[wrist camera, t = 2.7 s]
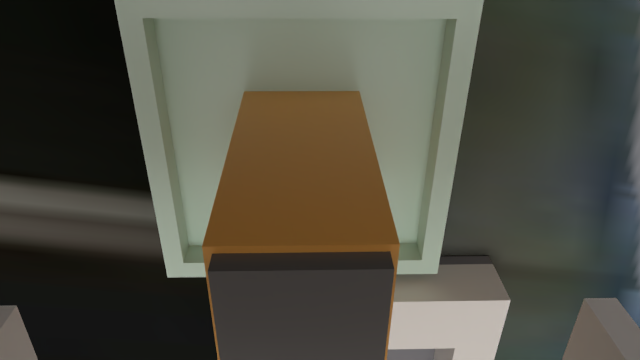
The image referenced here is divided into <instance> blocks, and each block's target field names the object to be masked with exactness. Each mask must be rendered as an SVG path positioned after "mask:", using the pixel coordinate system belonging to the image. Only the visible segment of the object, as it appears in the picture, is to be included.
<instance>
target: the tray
mask: <svg viewBox="0 0 640 360" xmlns="http://www.w3.org/2000/svg"><path fill="white" fill-rule="evenodd" d="M114 2H115V7H116V13H117V18H118V23H119V28H120V33H121V38H122V44H123V49H124V54H125V59H126V64H127V70H128V75H129V80H130V85H131V90H132V95H133V101H134V106H135V111H136V116H137V121H138V127H139V132H140V137H141V142H142V147H143V152H144V158H145V163H146V168H147V173H148V178H149V184H150V189H151V194H152V199H153V204H154V209H155V215H156V220H157V225H158V230H159V235H160V241H161V246H162V251H163V256H164V261H165V267H166V272H167V277H206V272H205V265H204V258H203V250H202V245H203V241H204V237H205V234H206V230H207V226H208V222H209V219H210V215H211V211H212V208H213V204H214V200H215V197H216V193H217V189H218V186H219V182H220V178H221V175H222V171H223V167H224V163H225V160H226V156H227V152H228V149H229V145H230V141H231V138H232V134H233V130H234V127H235V123H236V119H237V116H238V112H239V108H240V104H241V101H242V97H243V93H244V91H359V92H360V95H361V99H362V103H363V107H364V111H365V114H366V118H367V122H368V126H369V129H370V133H371V137H372V141H373V145H374V148H375V152H376V156H377V160H378V163H379V167H380V171H381V175H382V179H383V182H384V186H385V190H386V194H387V197H388V201H389V205H390V209H391V213H392V216H393V220H394V224H395V228H396V231H397V235H398V239H399V243H400V248H399V257H398V265H397V274H437V273H438V267H439V261H440V255H441V249H442V243H443V237H444V232H445V226H446V220H447V214H448V208H449V202H450V196H451V190H452V184H453V179H454V173H455V167H456V161H457V155H458V149H459V143H460V137H461V131H462V125H463V120H464V114H465V108H466V102H467V96H468V90H469V84H470V78H471V72H472V67H473V61H474V55H475V49H476V43H477V37H478V31H479V25H480V19H481V14H482V8H483V2H484V0H114Z"/></svg>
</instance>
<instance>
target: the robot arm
mask: <svg viewBox="0 0 640 360" xmlns="http://www.w3.org/2000/svg"><path fill="white" fill-rule="evenodd" d="M0 360H38V359H37V356H36V354H35V351H34V349H33V346H32V344H31V341H30V339H29V336H28V334H27V331H26V329H25V326H24V324H23V321H22V319H21V316H20V313H19V311H18V308H17V306H0ZM562 360H640V329H639V327H638V326H637V325H636V323H635V322H634V321H633V319H632V318H631V317H630V315H629V314H628V313H627V312H626V310H625V309H624V308H623V306H622V305H621V304H620V302H619V301H618V300H617V298H584V300H583V303H582V306H581V309H580V311H579V314H578V317H577V320H576V322H575V325H574V328H573V331H572V334H571V336H570V339H569V342H568V345H567V347H566V350H565V353H564V356H563V358H562Z"/></svg>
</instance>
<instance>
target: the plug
mask: <svg viewBox="0 0 640 360" xmlns="http://www.w3.org/2000/svg"><path fill="white" fill-rule="evenodd" d="M399 248H400V243H399V239H398V235H397V231H396V228H395V224H394V220H393V216H392V213H391V209H390V205H389V201H388V197H387V194H386V190H385V186H384V182H383V179H382V175H381V171H380V167H379V163H378V160H377V156H376V152H375V148H374V145H373V141H372V137H371V133H370V129H369V126H368V122H367V118H366V114H365V111H364V107H363V103H362V99H361V95H360V92H359V91H244V93H243V97H242V101H241V104H240V108H239V112H238V116H237V119H236V123H235V127H234V130H233V134H232V138H231V141H230V145H229V149H228V152H227V156H226V160H225V163H224V167H223V171H222V175H221V178H220V182H219V186H218V189H217V193H216V197H215V200H214V204H213V208H212V211H211V215H210V219H209V222H208V226H207V230H206V234H205V237H204V241H203V245H202V250H203V258H204V265H205V272H206V279H207V286H208V293H209V300H210V307H211V314H212V321H213V329H214V336H215V343H216V350H217V357H218V360H387V352H388V344H389V335H390V326H391V318H392V309H393V300H394V292H395V283H396V274H397V265H398V257H399Z"/></svg>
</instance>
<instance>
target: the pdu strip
mask: <svg viewBox="0 0 640 360" xmlns="http://www.w3.org/2000/svg"><path fill="white" fill-rule="evenodd" d="M509 304H510V298H509V296H508V294H507V292H506V290H505V288H504V286H503V284H502V282H501V280H500V278H499V276H498V274H497V272H496V270H495V268H494V266H493V264H492V261H491V259H490V257H489V256H440V261H439V267H438V273H437V274H396V283H395V292H394V300H393V309H392V318H391V326H390V335H389V344H388V352H387V360H494V358H495V354H496V351H497V347H498V344H499V340H500V336H501V333H502V329H503V326H504V322H505V318H506V315H507V311H508V308H509Z"/></svg>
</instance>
